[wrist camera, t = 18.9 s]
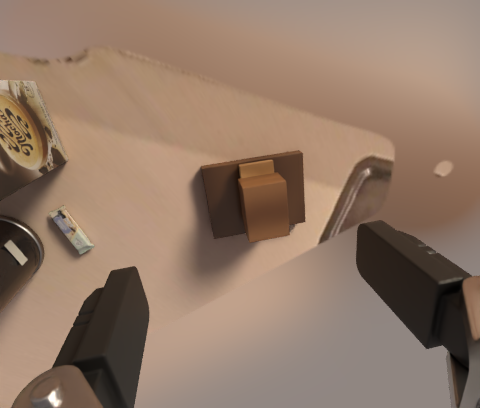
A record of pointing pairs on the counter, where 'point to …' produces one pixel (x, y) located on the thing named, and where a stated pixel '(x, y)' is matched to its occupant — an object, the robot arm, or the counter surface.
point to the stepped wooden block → (263, 201)
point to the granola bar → (71, 229)
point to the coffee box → (25, 137)
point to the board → (228, 196)
